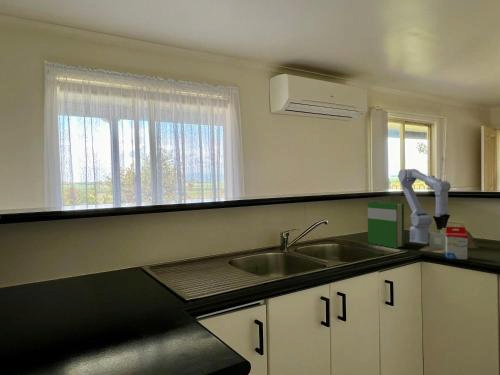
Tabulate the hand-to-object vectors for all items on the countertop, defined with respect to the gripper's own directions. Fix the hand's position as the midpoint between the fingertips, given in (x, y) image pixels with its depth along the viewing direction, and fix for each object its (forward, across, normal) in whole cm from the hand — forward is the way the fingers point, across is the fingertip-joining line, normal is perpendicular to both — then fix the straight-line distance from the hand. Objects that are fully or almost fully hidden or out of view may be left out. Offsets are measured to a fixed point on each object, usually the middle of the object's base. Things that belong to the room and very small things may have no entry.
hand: (441, 228), depth 191 cm
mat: (+10, -10, 0) cm, 14 cm away
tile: (+10, -6, 0) cm, 11 cm away
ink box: (+10, -22, -12) cm, 27 cm away
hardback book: (+10, -14, +25) cm, 30 cm away
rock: (+10, +6, -10) cm, 16 cm away
